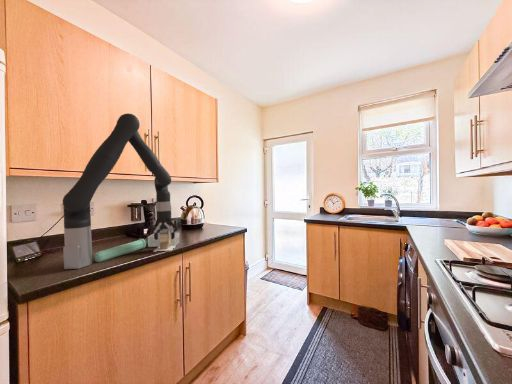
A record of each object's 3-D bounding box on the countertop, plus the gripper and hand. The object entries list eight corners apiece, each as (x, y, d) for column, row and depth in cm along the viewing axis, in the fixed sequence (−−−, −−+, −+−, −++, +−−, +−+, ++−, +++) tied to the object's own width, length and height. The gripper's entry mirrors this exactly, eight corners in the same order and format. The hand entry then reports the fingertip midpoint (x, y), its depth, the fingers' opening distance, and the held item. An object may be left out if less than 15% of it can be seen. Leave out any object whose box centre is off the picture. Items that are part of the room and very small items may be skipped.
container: (97, 250, 100) (144, 237, 123) (90, 253, 102) (137, 240, 125) (101, 262, 99) (147, 247, 122) (93, 266, 101) (140, 250, 124)
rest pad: (170, 251, 116) (170, 250, 116) (153, 252, 115) (153, 250, 115) (175, 246, 125) (175, 245, 125) (159, 247, 124) (159, 246, 124)
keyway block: (174, 246, 126) (174, 235, 126) (148, 247, 125) (147, 236, 125) (179, 241, 136) (179, 232, 136) (154, 242, 135) (154, 233, 135)
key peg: (167, 248, 119) (167, 230, 118) (160, 249, 118) (159, 230, 118) (170, 246, 123) (169, 229, 122) (162, 247, 122) (162, 229, 122)
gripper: (147, 211, 115) (148, 241, 116) (175, 210, 116) (176, 240, 117) (153, 209, 123) (154, 238, 123) (179, 208, 124) (179, 237, 124)
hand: (164, 239), depth 120 cm, fingers open, 8 cm apart
